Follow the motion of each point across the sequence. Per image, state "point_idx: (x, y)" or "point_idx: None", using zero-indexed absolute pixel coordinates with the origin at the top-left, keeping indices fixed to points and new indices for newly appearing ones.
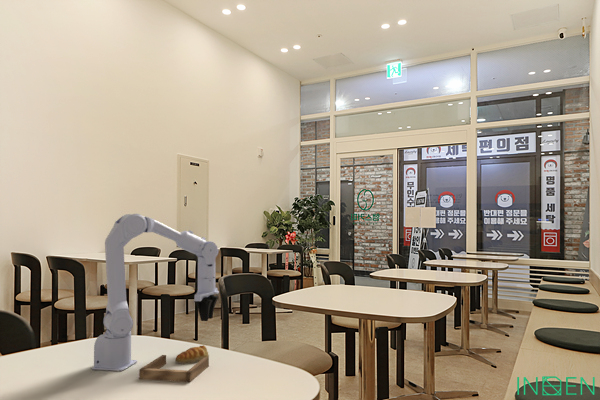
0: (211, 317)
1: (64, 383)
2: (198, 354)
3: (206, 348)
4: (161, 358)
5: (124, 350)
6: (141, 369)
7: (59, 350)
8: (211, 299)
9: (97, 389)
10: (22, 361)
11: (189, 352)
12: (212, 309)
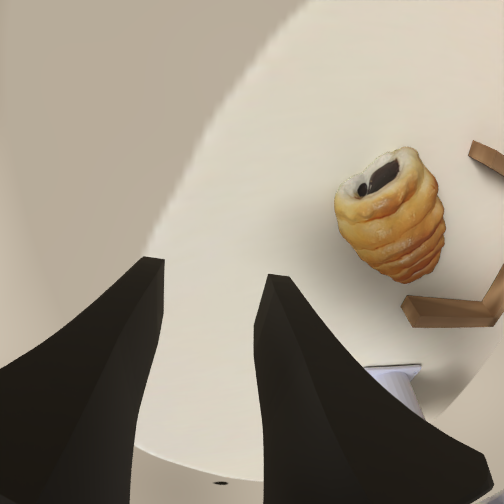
0: (159, 263)
1: (431, 400)
2: (438, 199)
3: (414, 171)
4: (442, 315)
5: (418, 406)
6: (495, 322)
7: (239, 466)
8: (90, 502)
9: (485, 349)
10: None
11: (436, 243)
12: (126, 327)
